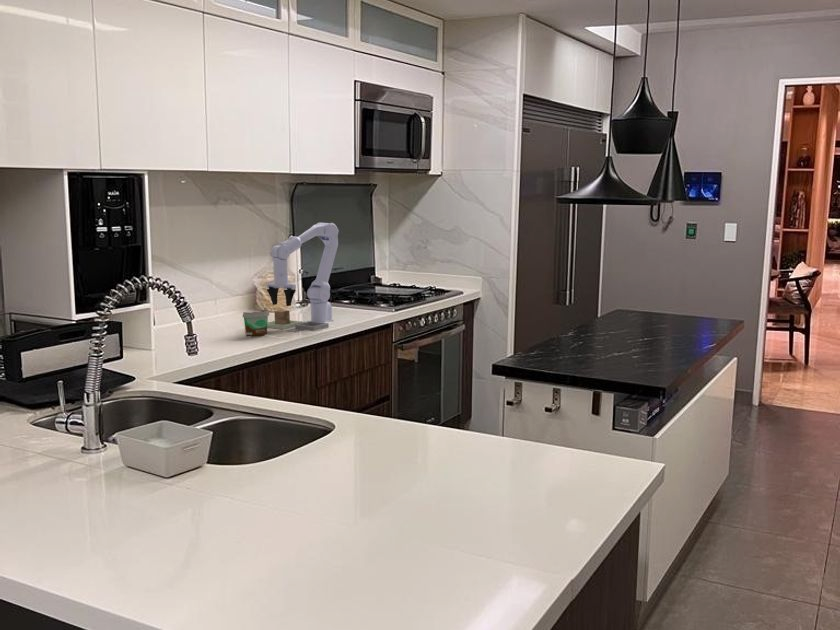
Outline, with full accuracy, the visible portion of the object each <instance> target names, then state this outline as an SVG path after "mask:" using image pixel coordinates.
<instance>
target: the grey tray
mask: <svg viewBox="0 0 840 630" xmlns="http://www.w3.org/2000/svg"><path fill="white" fill-rule="evenodd" d="M327 328H329V322H323V323H321V322H307V321H306V322H302V323H301V324H297V325H295V327H294V329H303V330H304V331H305V330H307V331H315V332H318V331H319V330H320V331H322V330H323V329H325V330H326V329H327Z"/></svg>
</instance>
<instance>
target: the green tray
mask: <svg viewBox="0 0 840 630" xmlns="http://www.w3.org/2000/svg"><path fill="white" fill-rule="evenodd" d="M301 323H303V321H301V320H290V324H287V325H278V324H275V320H271V321H268V323H267V329H268V328H269V329H279V330H280V329H281V330H288V329H292V328H295V325H297V324H301Z"/></svg>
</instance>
